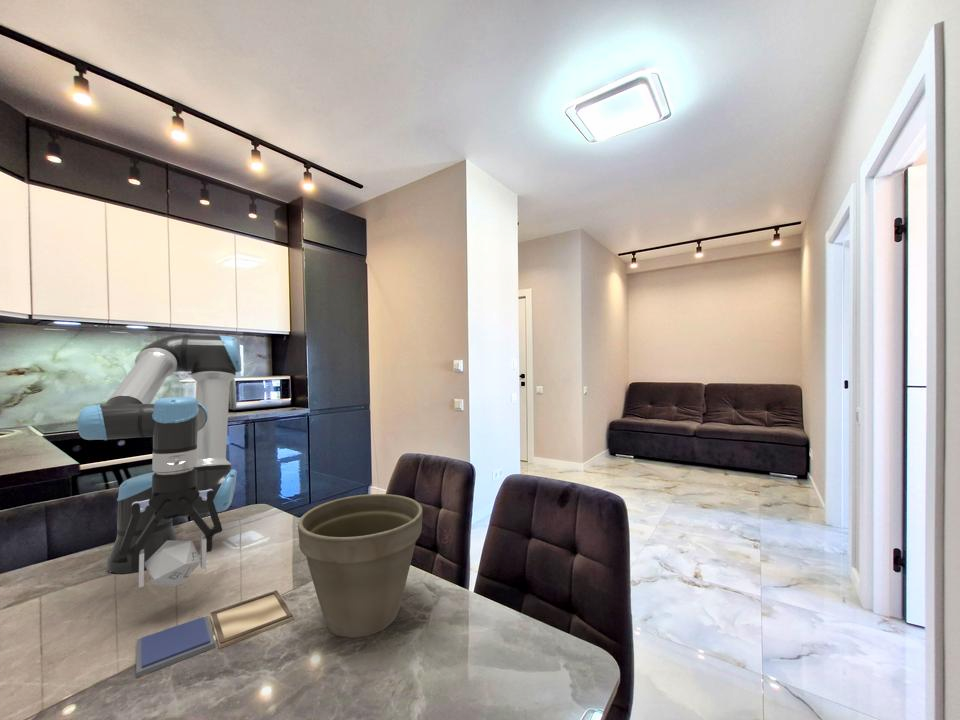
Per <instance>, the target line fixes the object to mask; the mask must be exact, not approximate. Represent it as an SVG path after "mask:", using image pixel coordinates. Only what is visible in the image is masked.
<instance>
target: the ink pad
mask: <svg viewBox="0 0 960 720" xmlns="http://www.w3.org/2000/svg"><path fill="white" fill-rule="evenodd" d="M209 619H210V618H209V616H208V615H206V616H202V617H198V618H196V619H193V620H190V621H187V622H184V623H181V624H178V625H175V626H172V627H170V628H166V629H164V630H160V631H158V632H154V633H151V634H148V635H145V636H143V637H140V638H137V639H136V650H135V651H136V657H135V658H136V659H135V660H136V661H135V665H136V666H135V668H136V669H135V673H136V674H135V677H136V678H140V677H142V676H145V675H148V674H150V673H153V672H155V671H158V670H160V669H163V668H165V667H168V666H171V665H174V664H176V663H179V662H181V661H183V660H186V659H190V658H191V657H193V656H196V655H199V654H202V653H205V652H207V651H210V650H212V649H214V648H216V640H215V637H214V632H213V631H212V630H213V629H212V626H211V622H210V620H209Z"/></svg>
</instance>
